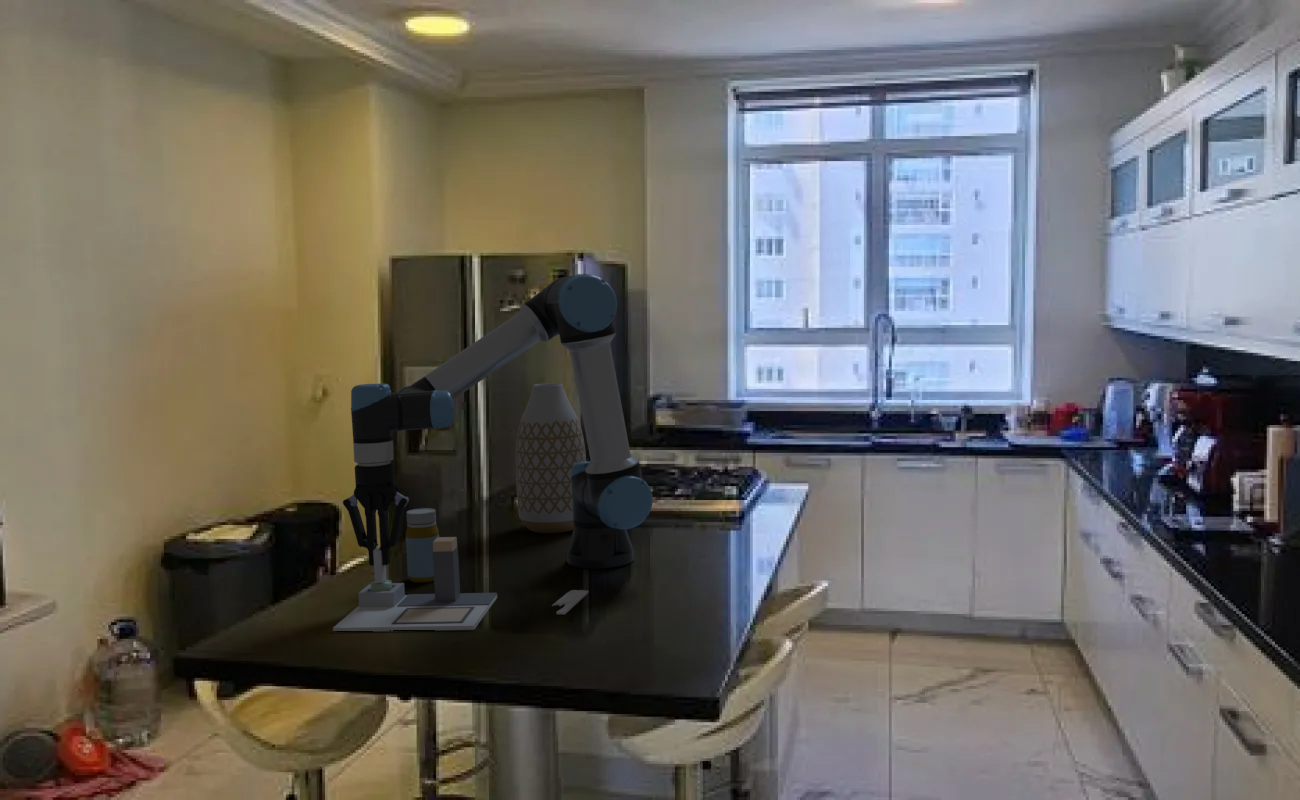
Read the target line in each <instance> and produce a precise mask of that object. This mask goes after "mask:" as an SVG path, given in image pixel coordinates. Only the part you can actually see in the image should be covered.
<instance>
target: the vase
mask: <svg viewBox="0 0 1300 800" xmlns="http://www.w3.org/2000/svg"><path fill="white" fill-rule="evenodd" d="M519 421H520V423H519V426H518V430H517V434H516V436H517V437H516V441H515V442H516V443H515V444H516V445H515V484H516V485H515V487H516V504H517V511H518V517H519V519H520V521H521V523H522V524H523V526H525V528H527V529H528V530H529V531H531V532H533V533H536V532H537V533H539V534H561V533H562V532H563V533H567V532H571V531H572V532H573V529H574V521H573V499H572V480H571V476H572V466H573V465H574V464H575V463H580V462H587V455H586V445H585V439H584V434H583V430H582V427H581V424H580V423H581V422H580V420H579V418H578V415H577V414H576V412H575V410H574V408H573V406H572V404H571V402H570V401H569V399H568V396H567V394H566V391H565V389H564V385H563V384H562V383H553V382H552V383H537V384H533V385H532V390H531V393H530V396H529V400H528V402H527V405H526V406H525V409H524V411H523V414H522V416H521V419H520V420H519Z"/></svg>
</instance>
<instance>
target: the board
mask: <svg viewBox="0 0 1300 800" xmlns="http://www.w3.org/2000/svg"><path fill="white" fill-rule="evenodd" d="M497 598H498V593H497V592H463V593H461V592H460V597H459V598H458V599H457V600H456V602H435V593H409V594H406V593H405V583H404V582H392V589H391V590H390V591H371V583H369V584H368V585H366V586H365V587H364V588H363V589H362V590H361V591H359V592H358V605H357V606H356V607H355V608H353V610H352V611H351V612H350V613H348V614H347V615H346V616H344V618H343V619H341V620H340V621H339V622H338V623H336V625H334V626H333V627H332V632H333V631H373V632H394V631H393V630H435V631H474V630H475V629H476V628H477V626H478V625H479V624H480V623H481V621H482V619H483V618H484V616H485V615H486V613H488V611H489V610H490V608H492V605H493V604H494V603H495V601H496V600H497ZM390 630H391V631H390Z"/></svg>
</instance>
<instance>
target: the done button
mask: <svg viewBox="0 0 1300 800" xmlns="http://www.w3.org/2000/svg"><path fill="white" fill-rule="evenodd" d="M392 583H393V581H392V580H390V579H386V580H385V581H384V582H383V583H375V580H374V581H371V582H370V584H371V591H390V590H391V589H392Z"/></svg>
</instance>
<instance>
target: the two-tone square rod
mask: <svg viewBox="0 0 1300 800" xmlns="http://www.w3.org/2000/svg"><path fill="white" fill-rule="evenodd" d="M457 538H458V537H457V536H443V537H442V536H439V537H438V538H436V539H435V540H434V541H433V568H434V581H433V584H434V594H435V602H456V600H457V599H458V598H459V597H460V593H461V585H460V584H461V582H460V565H459V547H458V539H457Z"/></svg>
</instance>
